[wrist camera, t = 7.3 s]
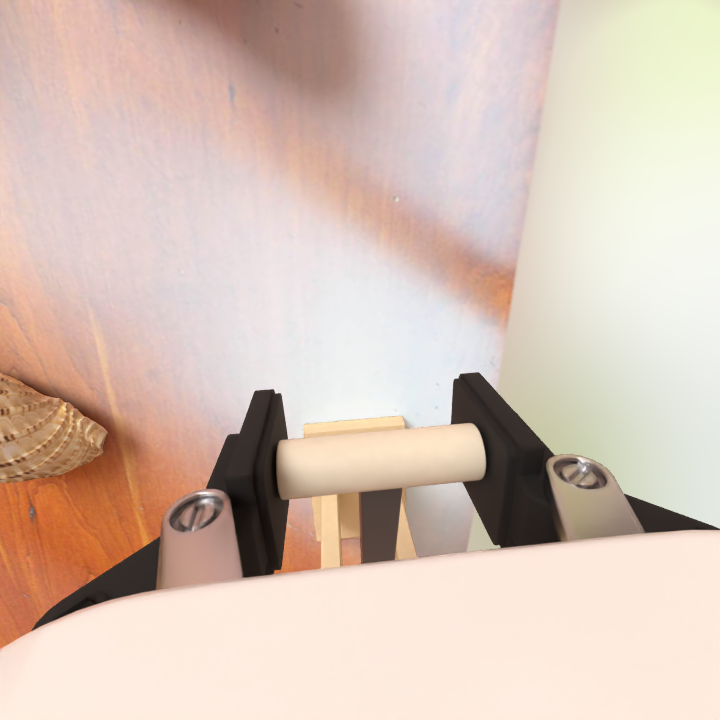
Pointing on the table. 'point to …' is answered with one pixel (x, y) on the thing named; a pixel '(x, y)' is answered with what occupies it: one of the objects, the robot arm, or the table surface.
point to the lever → (379, 472)
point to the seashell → (42, 434)
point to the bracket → (351, 498)
